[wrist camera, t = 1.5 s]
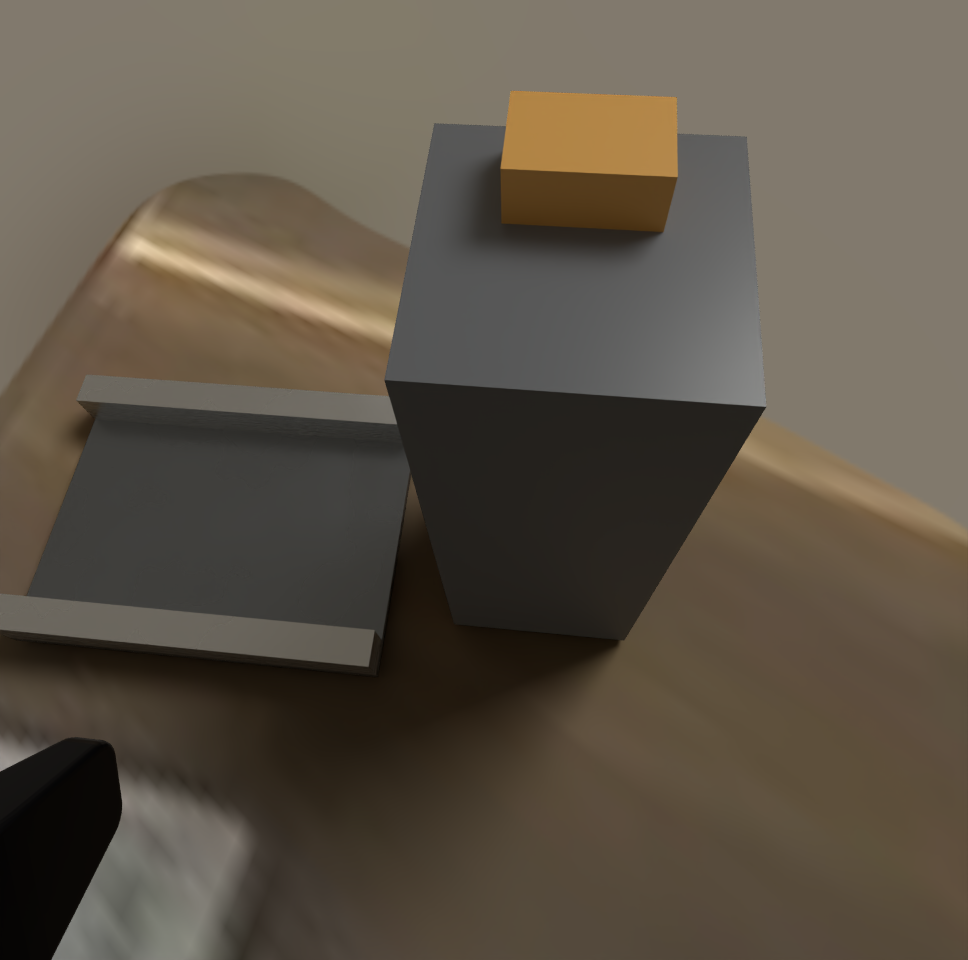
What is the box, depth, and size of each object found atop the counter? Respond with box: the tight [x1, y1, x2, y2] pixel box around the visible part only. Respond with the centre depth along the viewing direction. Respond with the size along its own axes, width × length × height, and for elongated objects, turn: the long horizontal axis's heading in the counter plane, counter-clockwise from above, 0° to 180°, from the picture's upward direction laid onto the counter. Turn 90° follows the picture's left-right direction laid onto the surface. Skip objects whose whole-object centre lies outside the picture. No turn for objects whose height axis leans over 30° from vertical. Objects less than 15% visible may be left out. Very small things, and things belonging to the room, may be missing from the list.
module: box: [385, 91, 766, 640], centre depth 16 cm, size 5×5×14 cm
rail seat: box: [0, 375, 411, 677], centre depth 22 cm, size 8×11×2 cm
